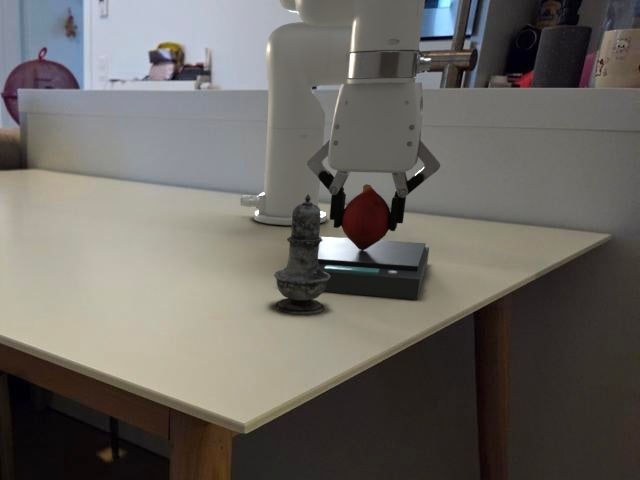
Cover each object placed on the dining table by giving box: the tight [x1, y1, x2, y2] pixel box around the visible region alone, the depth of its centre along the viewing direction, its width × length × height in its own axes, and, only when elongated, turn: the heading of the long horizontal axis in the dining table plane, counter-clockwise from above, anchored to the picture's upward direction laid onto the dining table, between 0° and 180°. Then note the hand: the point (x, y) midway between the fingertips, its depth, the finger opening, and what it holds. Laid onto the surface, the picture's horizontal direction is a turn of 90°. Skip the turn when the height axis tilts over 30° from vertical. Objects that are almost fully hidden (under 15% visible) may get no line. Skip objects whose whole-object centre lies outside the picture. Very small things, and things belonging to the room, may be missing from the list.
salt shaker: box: [273, 194, 330, 315], centre depth 77 cm, size 6×6×12 cm
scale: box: [318, 236, 430, 300], centre depth 91 cm, size 15×18×3 cm
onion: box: [340, 183, 391, 250], centre depth 90 cm, size 6×6×8 cm
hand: (365, 226), depth 90 cm, fingers closed on onion, 5 cm apart
